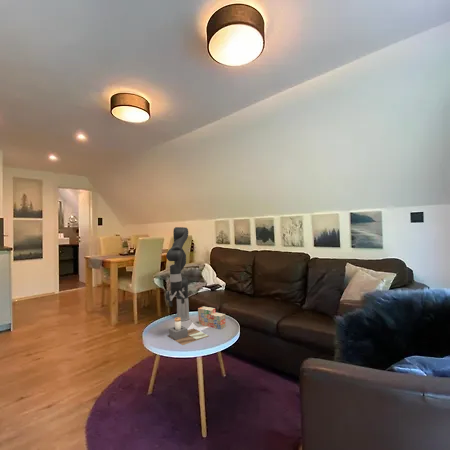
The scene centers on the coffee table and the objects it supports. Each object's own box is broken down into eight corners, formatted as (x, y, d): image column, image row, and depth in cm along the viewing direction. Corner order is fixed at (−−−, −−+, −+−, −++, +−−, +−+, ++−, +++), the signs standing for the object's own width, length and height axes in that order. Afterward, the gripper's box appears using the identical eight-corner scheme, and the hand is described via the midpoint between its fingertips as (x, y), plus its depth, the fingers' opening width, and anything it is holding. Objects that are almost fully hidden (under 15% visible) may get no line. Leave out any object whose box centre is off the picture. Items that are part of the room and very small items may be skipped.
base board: (167, 338, 186) (167, 335, 186) (193, 330, 199) (193, 327, 199) (182, 347, 171) (182, 344, 171) (209, 338, 183) (209, 335, 183)
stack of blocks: (226, 326, 203) (225, 309, 203) (220, 329, 198) (219, 312, 198) (204, 322, 216) (203, 306, 216) (198, 324, 211) (197, 308, 211)
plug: (174, 336, 185) (173, 318, 186) (179, 334, 188) (178, 316, 188) (177, 338, 182) (176, 319, 182) (182, 336, 185) (181, 318, 185)
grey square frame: (169, 336, 186) (168, 328, 186) (181, 332, 191) (180, 325, 191) (175, 340, 179) (175, 332, 179) (187, 336, 184) (187, 328, 184)
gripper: (182, 278, 193) (183, 301, 193) (163, 281, 184) (164, 306, 184) (188, 279, 187) (189, 303, 187) (168, 282, 178) (169, 308, 178)
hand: (177, 304), depth 185 cm, fingers open, 8 cm apart
